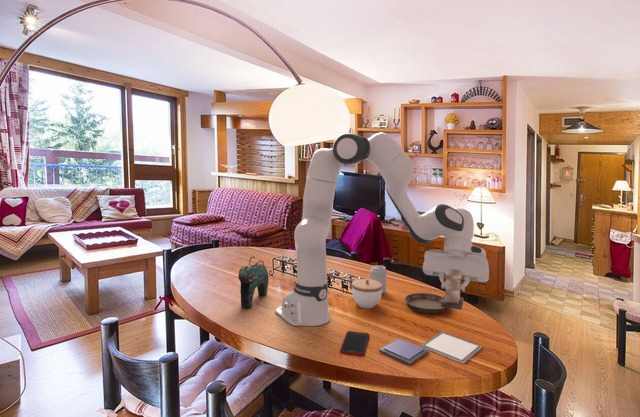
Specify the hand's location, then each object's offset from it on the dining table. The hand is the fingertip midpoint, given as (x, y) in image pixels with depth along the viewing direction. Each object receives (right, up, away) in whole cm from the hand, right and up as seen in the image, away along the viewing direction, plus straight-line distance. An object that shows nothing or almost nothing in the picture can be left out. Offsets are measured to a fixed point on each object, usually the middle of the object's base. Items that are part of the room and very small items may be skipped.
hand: (452, 289), depth 117 cm
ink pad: (-16, -20, 0) cm, 25 cm away
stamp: (0, -5, +1) cm, 5 cm away
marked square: (+1, -20, +3) cm, 20 cm away
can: (-15, -13, +53) cm, 57 cm away
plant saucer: (+2, -16, +37) cm, 40 cm away
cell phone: (-30, -19, +5) cm, 36 cm away
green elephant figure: (-70, -14, +40) cm, 82 cm away
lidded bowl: (-23, -15, +38) cm, 47 cm away
